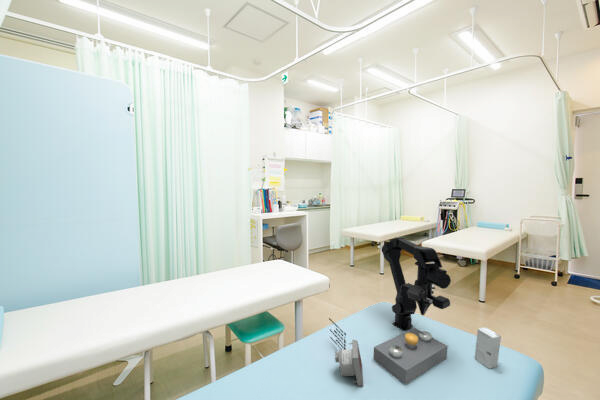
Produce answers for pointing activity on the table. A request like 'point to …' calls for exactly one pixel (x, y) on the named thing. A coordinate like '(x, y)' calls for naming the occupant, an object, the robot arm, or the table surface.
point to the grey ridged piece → (349, 359)
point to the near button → (395, 351)
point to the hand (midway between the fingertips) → (422, 314)
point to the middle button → (411, 340)
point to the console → (410, 356)
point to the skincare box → (487, 347)
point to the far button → (425, 336)
